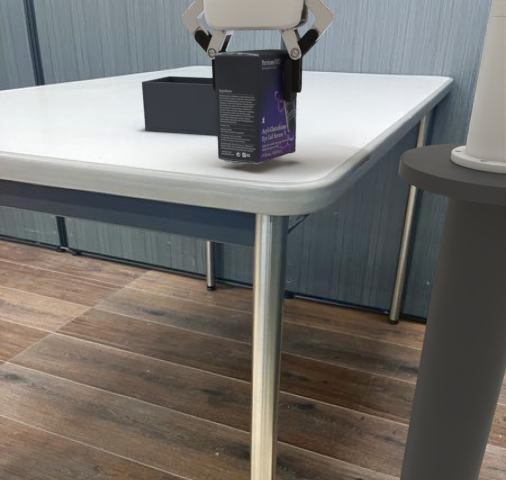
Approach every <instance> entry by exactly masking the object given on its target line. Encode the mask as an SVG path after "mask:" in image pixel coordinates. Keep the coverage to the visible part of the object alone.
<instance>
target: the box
mask: <svg viewBox="0 0 506 480" xmlns="http://www.w3.org/2000/svg"><path fill="white" fill-rule="evenodd" d="M287 59H288V50H287V49H282V48H266V49H248V50H236V51H235V50H234V51H227V52H220V53H216V54H215V80H216V106H217V108H216V109H217V135H216V136H217V158H218V159H219V160H222V161H224V162H230V163H234V164H245V165H253V166H254V165H255V166H258V165H260V164H263V163H264V162H268V161H270V160H273V159H276V158H280V157H283V156H287V155H289V154H294V153H295V152H296V151H297V150H296V149H297V146H296V144H297V141H296V140H297V102H298V101H297V100H298V99H297V98H298V97H297V98H296V99H295V100H294V101H292V102H286V101H284V61H286V60H287Z"/></svg>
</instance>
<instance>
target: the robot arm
mask: <svg viewBox="0 0 506 480" xmlns="http://www.w3.org/2000/svg"><path fill="white" fill-rule="evenodd" d="M310 12H311V13H312V14H313V15H314V17H315V21H314V22H313V23H312V25H311V27H310V28H309V29H308V30H307V31H306V32H305V33H304V34H303V36H302V35H301V32H300V29H299V28H301V27H303V26H305V25H306V24H307V23H308V22H309V18H310ZM202 16H204V19H205V23H206V24H207V26H209V28H212V29H214V30H213V33H211V32H210V31H209V30H207V29H206V28H205V27H204V25H203V23H202V20H201V19H202ZM335 20H336V13H335V12H334V11H333V10H332V9H331V8H330V7H329V6H328V5H327V4H326V3H325V2H324V1H323V0H193V2H192V3H191V5H190V6H188V7H187V9H186V10H185V12H183V14H181V18H180V21H181V23H182V25H183V26H184V27H185V29H186V30H187V31H188V32H189V33H190V34H191V35H192V36H193V38H194V40H195V42H196V43H197V44H198V45H199V46H200V47H201V49H202V50H203V51H204V52H205V53H206V56H207V58H208V59H210V60H211V74H212V75H211V76H212V77H211V78H212V80H213V90H214V91H216V80H215V54H216V53H220V52H228V49H229V46H230V44H231V41H232V38H233V36H234V33H235V31H278V32H279V34H280V36H281V38H282V40H283V41H282V42H283V44H284V45H285V46H284V47H285V49H286V50H288V59H287V60H286V61H284V101H286V102H292V101H294V100H295V99H296V98H298V94H299V93H300V94H301V93H302V89H303V58H304V57H305V56H306V55H307V53H309V52H310V51H311V49H312V48H313V47H314V46H315V45H316V44H317V43H318V41H319V40H320V39H321V38H322V36H323V35H324V34H325V32H326V31H327V30H328V29H329V27H331V25H332V24H333V23H334V21H335ZM485 31H486V32H485V37H484V42H483V47H482V54H481V58H480V59H481V60H480V64H479V70H478V77H477V82H476V87H475V93H474V99H473V104H472V109H471V116H470V120H469V127H468V132H467V136H466V137H467V139H466V142H465V143H466V146H460V147H457V148H455V149H453V150H452V152H451V160H452V162H454V163H455V164H457V165H460V166H462V167H466V168H469V169H473V170H478V171H484V172H490V173H498V174H506V0H491V4H490V10H489V15H488V19H487V27H486V30H485Z"/></svg>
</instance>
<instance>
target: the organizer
mask: <svg viewBox="0 0 506 480" xmlns="http://www.w3.org/2000/svg"><path fill="white" fill-rule="evenodd" d="M141 88H142V89H141V90H142V104H143V116H144V130H145V131H146V132H160V133H176V134H191V135H207V136H217V109H216V108H217V106H216V91H214V90H213V80H212V77H204V76H203V77H201V76H175V75H167V76H163V77H159V78H153V79H149V80H143V81H141Z"/></svg>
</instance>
